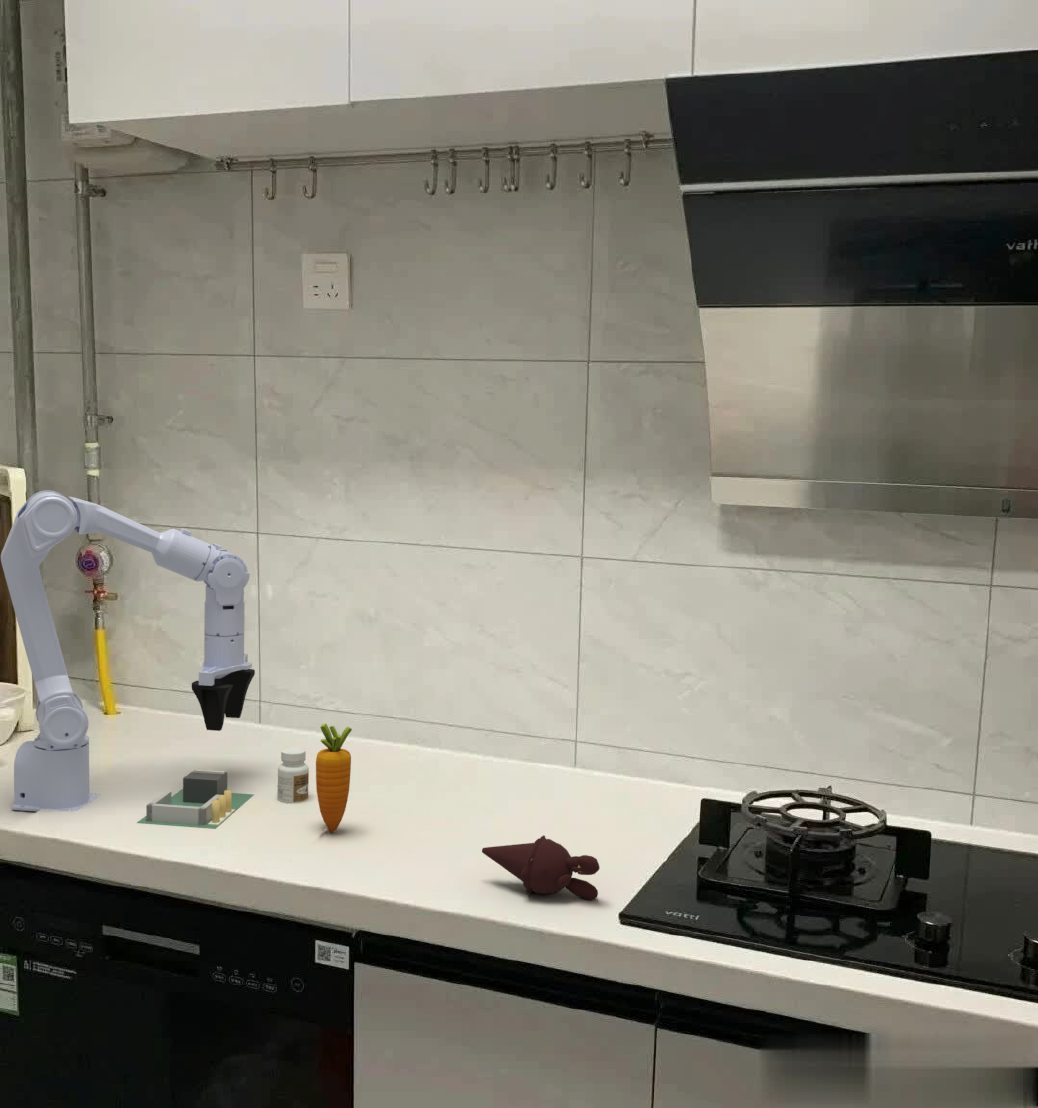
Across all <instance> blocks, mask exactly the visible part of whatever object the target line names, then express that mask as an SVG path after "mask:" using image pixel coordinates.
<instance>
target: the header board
mask: <svg viewBox="0 0 1038 1108" xmlns="http://www.w3.org/2000/svg"><path fill="white" fill-rule="evenodd" d="M254 796H255V794H252V793H242V792H240V793H239V792H238V793H237V792H232V790H230V789H227V790H225V791H224V795H215V796H214V797H213V798H211V799H210V800H209V801H208V802H206V803H205V804H203V803H189V802H183V788H182V789H180V790H179V791H177V792H176V793H175V794H174V795H172V791H171V790H165V791H164V792H163V793H162V794H160V795H158V796H156V798H154V799H153V800H151V801H150V802H149V803H147V804H146V807H145V808H146V815H145V816H143V817H142V818H141V819H139V820H138V821H137V822H136V824H146V825H158V826H168V827H169V826H172V827H185V828H197V829H212V830H213V829H214V830H216V829H217V828H218V827H219V826H221V825H222V824H223V823H224V822H225V821H226V820H227V819H229V817H231V816H232V815H233V814H234V813H235V812H236V811H238V809H239V808H241V807H243V805H244V804H246V802H248V801H249V800H250V799H251V798H252V797H254Z"/></svg>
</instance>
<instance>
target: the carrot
mask: <svg viewBox="0 0 1038 1108" xmlns="http://www.w3.org/2000/svg"><path fill="white" fill-rule="evenodd" d="M320 730H321V733H322V734H323V736H324V738H321V739H320V742H321V743H322V744H323V745H324V746H325V747H326V748H324V749H321V750H319V752H317V754H316V758H315V759H316V760H315V783H316V784H315V785H316V795H317V801H318V806H319V811H320V814H321V818H322V820H323V822H324V824H325V826H326V828H327V830H328V831H329V832H330V833H332V834H333V833H335V831H337V830H338V828H339V826H340V824H341V822H342V820H343V817H344V815H345V812H346V808H347V803H348V798H349V794H350V793H349V792H350V784H351V782H350V781H351V769H352V767H351V766H352V755H351V752H350V751H348V750H347V749H344V748H342V747H343V744H344V743H345V741H346V739H347V737H348V736H349V734H351V732H352V727H350V726H346V727H345V728H344V730H343V731H342V733H341V734H338V732H337V729H336V727H335V726H334V725H331V726H328V724H327V723H322V724H321V725H320Z"/></svg>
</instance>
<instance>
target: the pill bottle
mask: <svg viewBox="0 0 1038 1108" xmlns="http://www.w3.org/2000/svg"><path fill="white" fill-rule="evenodd" d="M280 753H281V756H280V759H281V762H282V763H281V764H280V765H278V767H277V801H278V802H280V803H283V804H300V803H305V802H306V801H308V799H309V783H310V782H309V779H310V778H309V777H310V774H309V772H310V771H309V769H310V768H309V765H308V764H307V763H306V762H305V761H306V749H304V748H302V747H296V746H295V747H292V746H291V747H286V748H283V749H282V750H281V752H280Z"/></svg>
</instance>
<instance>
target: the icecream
mask: <svg viewBox="0 0 1038 1108" xmlns="http://www.w3.org/2000/svg"><path fill="white" fill-rule="evenodd" d="M481 849H482V850H481V852H482V854H484V856H486V857H488V858H489V859H491V860H492V861H494V862H495V863H497V864H498V865H499V866H500V867H502V868H503V869H505V871H507V872H509V873H510V874H512V875H513V876H514V877H516V878H517V879H518V880H520V881H521V882H522V883H523V884H522V885H523V888H525V891H526V894H527V895H530V894H531V893H532V892H534V893H536V894H541V895H552V894H557V893H559V892H560V891H562V890H564V889H566V890H567V891H568V892H570V893H571V894H573V895H575V896H576V897H578V898H580V899H583V900H588V901H593V900H596V899H597V897H598V895H599V890H598V889H597V888H596V886H595V885H593V884H592V883H590V882H589V881H587V880H583V879H579V878H577V877H572V876H573V875H574V874H576V873H577V875H581V876H582V875H583V876H591V875H595V874H597V872H599V870H600V863H599V862H598V859H597V858H596V857H594V856H591V855H587V854H584V855H581V856H577V855H575V856H572V855H571V854H570V853H569V851H568V849H566V847H564V846H563V845H562V844H561V843H559V842H556V841H554V840H552V839H550V838H547V837H546V835H542V836H540V837H539V838H536V840H535V841H534V842H529V843H526V842H525V843H521V844H520V843H519V844H518V843H516V844H506V845H496V846H487V847H482V848H481ZM573 873H574V874H573Z"/></svg>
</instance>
